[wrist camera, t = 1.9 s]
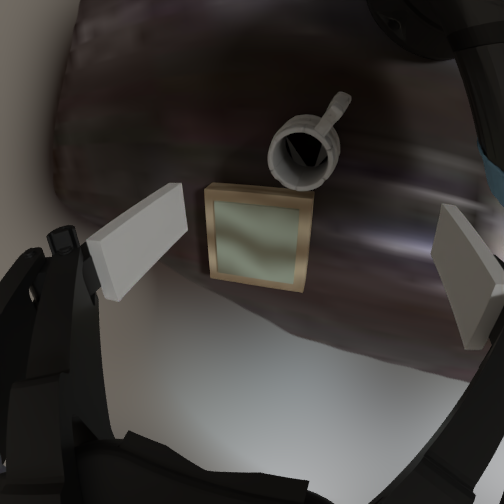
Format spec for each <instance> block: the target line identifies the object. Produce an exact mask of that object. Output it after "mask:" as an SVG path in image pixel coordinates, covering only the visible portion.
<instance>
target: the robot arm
mask: <svg viewBox="0 0 504 504" xmlns="http://www.w3.org/2000/svg"><path fill="white" fill-rule="evenodd" d="M367 3H368V6H369V9H370V11H371V14H372V16H373V17H374V19H375V21H376V22H377V24H378V25H379V26H380V28H381V29H382V30H383V31H384V32H385V33H386V34H387V35H388V36H389V37H390V38H391V39H392V40H393V41H395V42H396V43H397V44H398V45H400V46H401V47H403V48H405V49H406V50H408V51H410V52H412V53H414V54H416V55H419V56H422V57H425V58H429V59H435V60H449V59H454V58H455V60H456V63H457V66H458V68H459V71H460V74H461V77H462V80H463V83H464V86H465V90H466V93H467V96H468V100H469V104H470V107H471V111H472V115H473V119H474V124H475V128H476V132H477V146H478V149H479V152H480V154H481V156H482V158H483V162H484V167H485V172H486V177H487V182H488V185H489V188H490V190H491V192H492V194H493V195H494V196H495V197H496V198H497V199H498V200H499V202H500V204H501V205H502V206H503V207H504V0H367ZM187 230H188V227H187V220H186V213H185V206H184V198H183V190H182V183H168V184H167V185H165V186H164V187H162V188H160V189H159V190H157V191H156V192H154V193H153V194H151V195H150V196H148V197H146V198H145V199H143V200H142V201H140V202H139V203H137V204H136V205H134V206H133V207H131V208H130V209H128V210H127V211H125V212H124V213H123V214H121V215H120V216H118V217H117V218H115V219H114V220H112V221H111V222H110V223H108V224H107V225H105V226H104V227H103V228H101V229H100V230H98V231H97V232H96V233H94V234H93V235H92V236H90V237H89V238H87V239H86V242H85V243H83V244H82V245H81V246H80V244H79V241H78V237H77V234H76V230H75V227H74V226H72V225H67V226H63V227H59V228H57V229H55V230H53V231H52V232H50V233H49V234H48V235H47V240H48V243H49V246H50V249H51V252H52V257H45V255H44V253H43V250H42V248H40V247H37V248H30V249H28V250H26V251H25V252H24V253H23V254H22V255H20V256H19V258H18V259H17V260H16V261H15V263H14V264H13V265H12V267H11V268H10V269H9V271H8V272H7V273H6V274H5V276H4V277H3V279H2V280H1V281H0V504H334V503H332V502H331V501H329V500H328V499H326V498H324V497H322V496H320V495H318V494H316V493H314V492H311V491H308V490H307V488H308V484H309V481H307V480H300V479H292V478H286V477H281V476H275V475H270V474H264V473H238V472H213V471H207V470H204V469H202V468H200V467H199V466H197V465H195V464H194V463H192V462H190V461H189V460H187V459H186V458H184V457H183V456H181V455H179V454H178V453H176V452H175V451H173V450H172V449H170V448H169V447H167V446H166V445H163V444H161V443H158V442H155V441H153V440H150V439H148V438H145V437H143V436H141V435H138V434H136V433H134V432H131V431H128V432H127V434H126V435H125V437H124V439H115V437H114V435H113V433H112V430H111V426H110V420H109V414H108V408H107V401H106V394H105V387H104V377H103V369H102V357H101V345H100V331H99V330H100V329H99V303H98V302H99V301H98V296H97V294H96V291H97V290H98V289H99V288H100V287H101V288H102V291H103V294H104V296H105V298H106V299H109V300H113V301H117V302H119V301H120V300H121V299H122V298H123V297H124V296H125V294H126V293H127V292H128V291H129V290H130V289H131V288H132V287H133V286H134V285H135V284H136V283H137V281H139V280H140V278H141V277H142V276H143V275H144V274H145V273H146V272H147V271H148V270H149V269H150V268H151V267H152V266H153V265H154V264H155V263H156V262H157V261H158V260H159V259H160V258H161V257H162V256H163V255H164V254H165V253H166V252H167V251H168V250H169V248H170V247H171V246H172V245H173V244H174V243H175V242H176V241H177V240H178V239H179V238H180V237H181V236H182V235H183V234H184V233H185V232H186V231H187ZM431 256H432V258H433V261H434V263H435V265H436V268H437V270H438V273H439V275H440V278H441V280H442V283H443V285H444V288H445V291H446V293H447V296H448V299H449V302H450V304H451V307H452V310H453V313H454V316H455V319H456V322H457V325H458V328H459V332H460V335H461V338H462V341H463V345H464V348H465V350H482V349H483V347H484V345H485V343H486V341H487V340H488V338H490V341H491V344H492V346H491V348H490V350H489V351H488V353H487V355H486V356H485V358H484V360H483V361H482V363H481V364H480V366H479V369H478V371H477V372H476V374H475V376H474V377H473V379H472V381H471V382H470V384H469V386H468V387H467V389H466V390H465V392H464V394H463V395H462V396H461V398H460V400H459V401H458V402H457V404H456V405H455V407H454V408H453V410H452V411H451V412H450V414H449V415H448V417H447V418H446V419H445V421H444V422H443V423H442V425H441V426H440V427H439V429H438V430H437V431H436V433H435V434H434V435H433V436H432V438H431V439H430V440H429V441H428V443H427V444H426V445H425V446H424V447H423V448H422V450H421V451H420V452H419V453H418V454H417V455H416V457H415V458H414V459H413V460H412V461H411V462H410V464H409V465H408V466H407V467H406V468H405V469H404V470H403V471H402V472H401V473H400V474H399V475H398V476H397V477H396V478H395V480H393V481H392V482H391V484H389V485H388V486H387V487H386V488H385V489H384V490H383V491H382V492H381V493H380V494H379V495H378V496H377V497H376V498H374V499H373V500H372V501H371V502H370V503H369V504H473V502H474V500H475V496H476V495H475V494H474V493H473V489H474V487H475V485H476V484H477V482H478V481H479V479H480V477H481V476H482V474H483V472H484V471H485V469H486V467H487V466H488V464H489V462H490V461H491V459H492V457H493V455H494V453H495V452H496V450H497V448H498V446H499V444H500V442H501V440H502V438H503V436H504V262H503V261H502V260H500V259H499V258H498V257H497V256H496V255H493V254H492V252H491V251H490V249H489V248H488V247H487V245H486V244H485V243H484V241H483V240H482V238H481V237H480V236H479V234H478V233H477V232H476V230H475V229H474V228H473V227H472V225H471V224H470V223H469V221H468V220H467V219H466V218H465V216H464V215H463V214H462V213H461V212H460V210H459V209H458V208H457V207H456V206H455V205H450V204H443V203H442V205H441V211H440V216H439V220H438V225H437V230H436V234H435V238H434V242H433V247H432V251H431ZM29 288H30V291H31V293H32V295H33V297H34V300H33V302H32V300H31V298H30V295H29ZM5 460H6V467H5V466H4V465H3V464H4V462H5ZM499 504H504V492H503V495H502V498H501V501H500V503H499Z"/></svg>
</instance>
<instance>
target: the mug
mask: <svg viewBox="0 0 504 504" xmlns="http://www.w3.org/2000/svg"><path fill="white" fill-rule="evenodd" d="M350 102H351V96H350V95H349V94H347V93H345V92H338V93H337V94H336V95H335V96H334V98H333V100H332V101H331V102H330V104H329V107H328V108H327V111H326V112H325V114H324V115H323V117H322V118H321V117H318V116H315V115H308V114H305V115H297V116H294V117H293V118H291V119H290V120H288V121H287V122H286V123H285V124H284V125H283V126H282V127H281V128H280V129H279V130H278V131H277V133H276V134H275V135H274V137H273V139H272V141H271V144H270V147H269V151H268V158H267V159H268V166H269V169H270V170H271V173H272V175H273V176H274V178H275V179H277V180H279V181H280V182H281V184H282V185H284V186H285V187H287V188H289V189H292V190H296V191H309V190H313V189H315V188H318V187H319V186H321V185H322V184H323V183H324V181H325V180H327V179H328V178H329V176H330V175H331V174H332V172H333V171H334V169H335V167H336V164H337V163H338V158H339V155H340V140H339V137H338V134H337V132H336V130H335V129H334V128H333V125H334V124H335V122H337V121H338V120H339V119H340V118H341V116H342V115H343V113H344V112H345V110H346V109H347V107H348V106H349V104H350ZM297 132H304V133H307V134H310V135H312V136H314V137H315V138H317V139H318V140H319V141H320V142H321V143H322V147H321V150H320V153H319V155H318V158H317V161H316V164H315V166H313V167H310V166H306V164H305V163H304V161H303V160H302V158H301V157H300V155H299V154H298V152H297V151H296V149H295V148H294V146H293V145H292V144H291V142H290V141H289V139H288V138H287V135H289V134H292V133H297ZM286 139H287V142H288V145H289V149H290V152H291V155H292V158H293V159H292V158H291V157H290V155H289V153H288V152H287V148H286ZM327 155H328V159H327V160H326V161H325V162H324V163H322V164H320V163H321V162H322V161H323V159H324V158H325V157H326V156H327ZM319 164H320V165H319Z"/></svg>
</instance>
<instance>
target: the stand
mask: <svg viewBox="0 0 504 504" xmlns="http://www.w3.org/2000/svg"><path fill="white" fill-rule="evenodd" d="M204 196H205V212H206V226H207V240H208V253H209V265H210V277H211V278H215V279H221V280H227V281H233V282H239V283H245V284H251V285H257V286H263V287H269V288H276V289H282V290H289V291H295V292H302V293H303V290H304V286H305V281H306V273H307V264H308V255H309V246H310V236H311V226H312V215H313V204H314V191H296V190H292V189H286V188H276V187H266V186H254V185H242V184H229V183H214V182H213V183H211V184H210V185H209V186H207V187H206V188H205V189H204Z"/></svg>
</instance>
